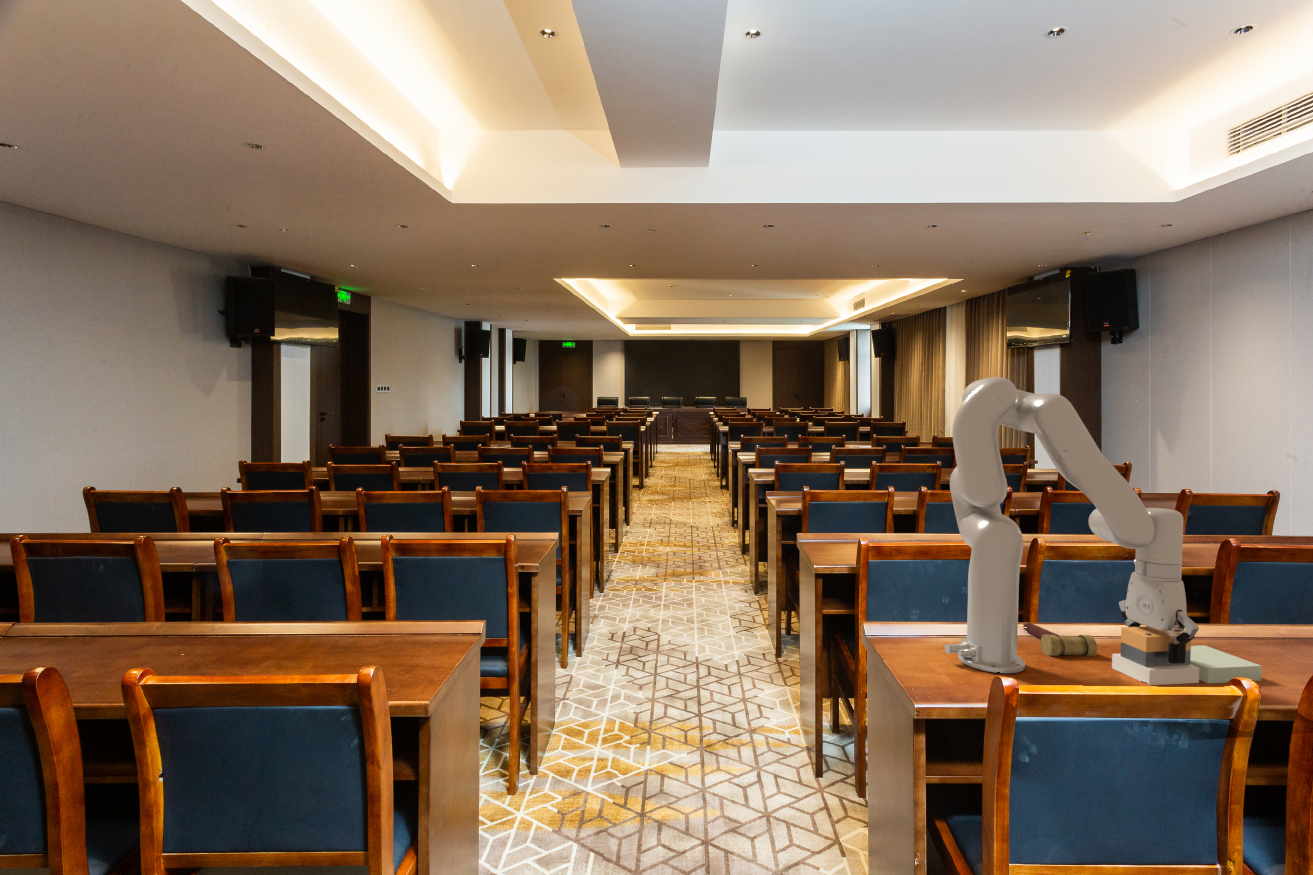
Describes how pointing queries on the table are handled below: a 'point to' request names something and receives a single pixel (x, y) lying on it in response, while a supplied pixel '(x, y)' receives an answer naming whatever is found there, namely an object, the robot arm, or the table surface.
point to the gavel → (1062, 642)
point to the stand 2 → (1222, 665)
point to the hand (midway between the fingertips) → (1155, 654)
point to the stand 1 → (1156, 672)
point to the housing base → (1150, 657)
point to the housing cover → (1147, 639)
